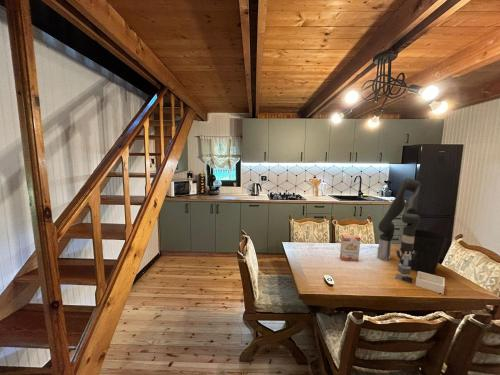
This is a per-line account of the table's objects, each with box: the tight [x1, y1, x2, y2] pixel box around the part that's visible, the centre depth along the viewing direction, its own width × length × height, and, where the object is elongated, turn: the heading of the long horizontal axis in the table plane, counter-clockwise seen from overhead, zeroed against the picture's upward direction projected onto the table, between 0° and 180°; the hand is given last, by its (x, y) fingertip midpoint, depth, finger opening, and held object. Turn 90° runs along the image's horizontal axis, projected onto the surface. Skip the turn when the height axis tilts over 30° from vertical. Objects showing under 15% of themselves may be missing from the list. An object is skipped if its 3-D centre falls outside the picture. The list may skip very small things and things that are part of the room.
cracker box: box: [339, 234, 361, 262], centre depth 205 cm, size 14×6×21 cm, turn 84°
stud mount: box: [394, 273, 414, 284], centre depth 174 cm, size 10×10×5 cm
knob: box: [397, 254, 412, 275], centre depth 173 cm, size 6×6×14 cm
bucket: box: [408, 229, 448, 275], centre depth 190 cm, size 27×28×30 cm
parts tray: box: [415, 271, 446, 295], centre depth 165 cm, size 15×15×6 cm
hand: (404, 263), depth 173 cm, fingers closed on knob, 3 cm apart
